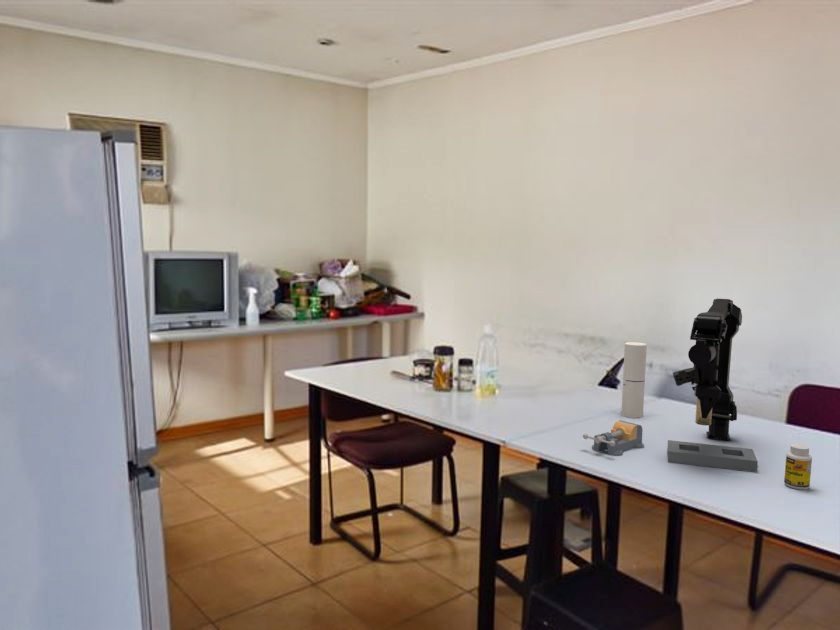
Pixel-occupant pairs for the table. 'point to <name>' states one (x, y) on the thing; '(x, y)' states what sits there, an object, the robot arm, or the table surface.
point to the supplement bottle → (798, 467)
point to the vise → (618, 438)
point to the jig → (712, 455)
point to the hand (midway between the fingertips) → (703, 416)
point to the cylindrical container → (634, 379)
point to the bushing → (699, 416)
